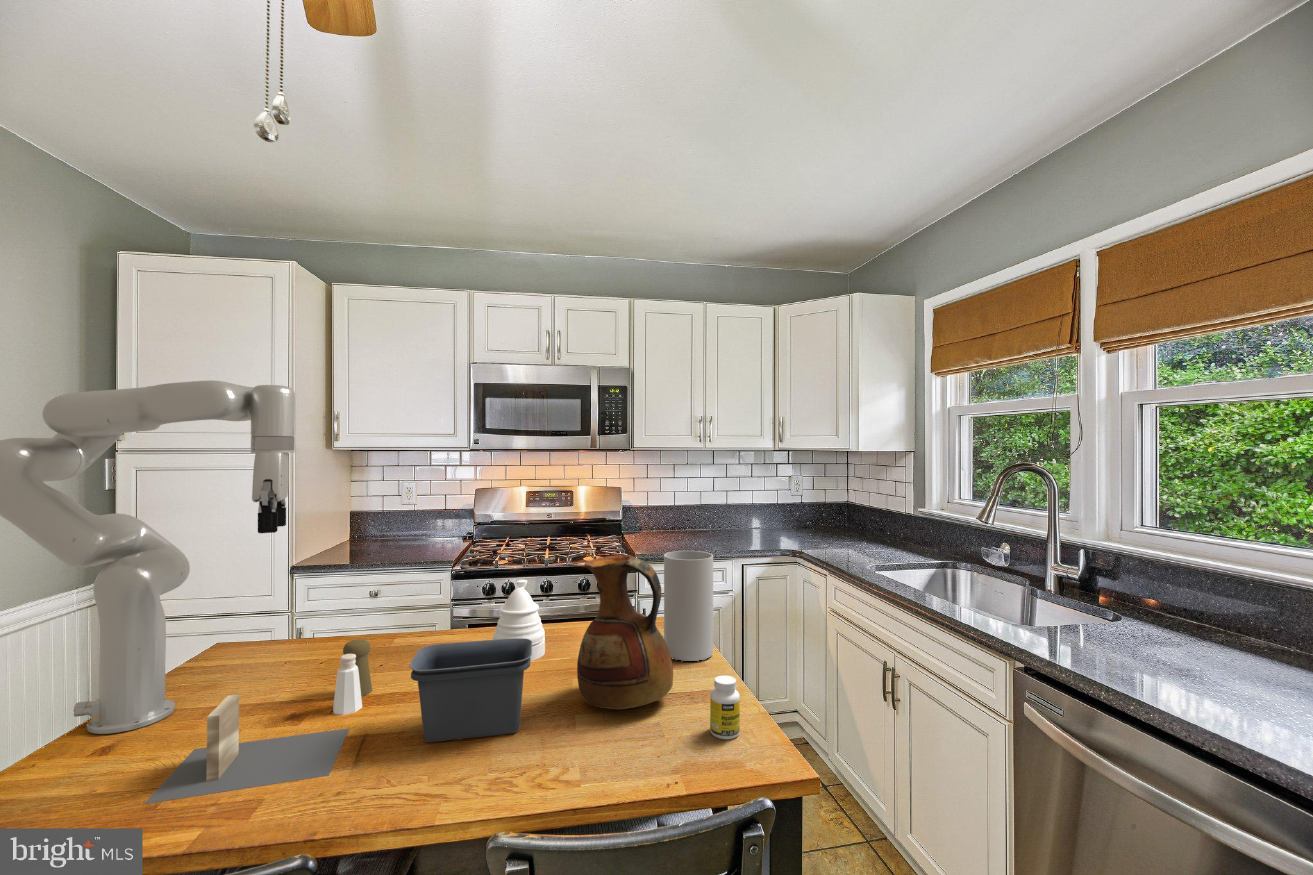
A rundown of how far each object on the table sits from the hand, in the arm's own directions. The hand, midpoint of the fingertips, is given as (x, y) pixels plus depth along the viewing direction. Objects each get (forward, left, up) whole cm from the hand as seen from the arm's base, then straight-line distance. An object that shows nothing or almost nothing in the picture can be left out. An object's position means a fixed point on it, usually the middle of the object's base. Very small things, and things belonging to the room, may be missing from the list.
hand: (272, 529), depth 117 cm
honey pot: (+50, +15, -36) cm, 64 cm away
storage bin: (+39, -21, -36) cm, 58 cm away
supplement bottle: (+83, -38, -36) cm, 99 cm away
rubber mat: (+5, -24, -36) cm, 44 cm away
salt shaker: (+15, -7, -36) cm, 40 cm away
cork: (+15, +2, -36) cm, 39 cm away
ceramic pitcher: (+69, -19, -36) cm, 81 cm away
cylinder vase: (+91, +1, -36) cm, 98 cm away
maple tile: (0, -24, -35) cm, 43 cm away
